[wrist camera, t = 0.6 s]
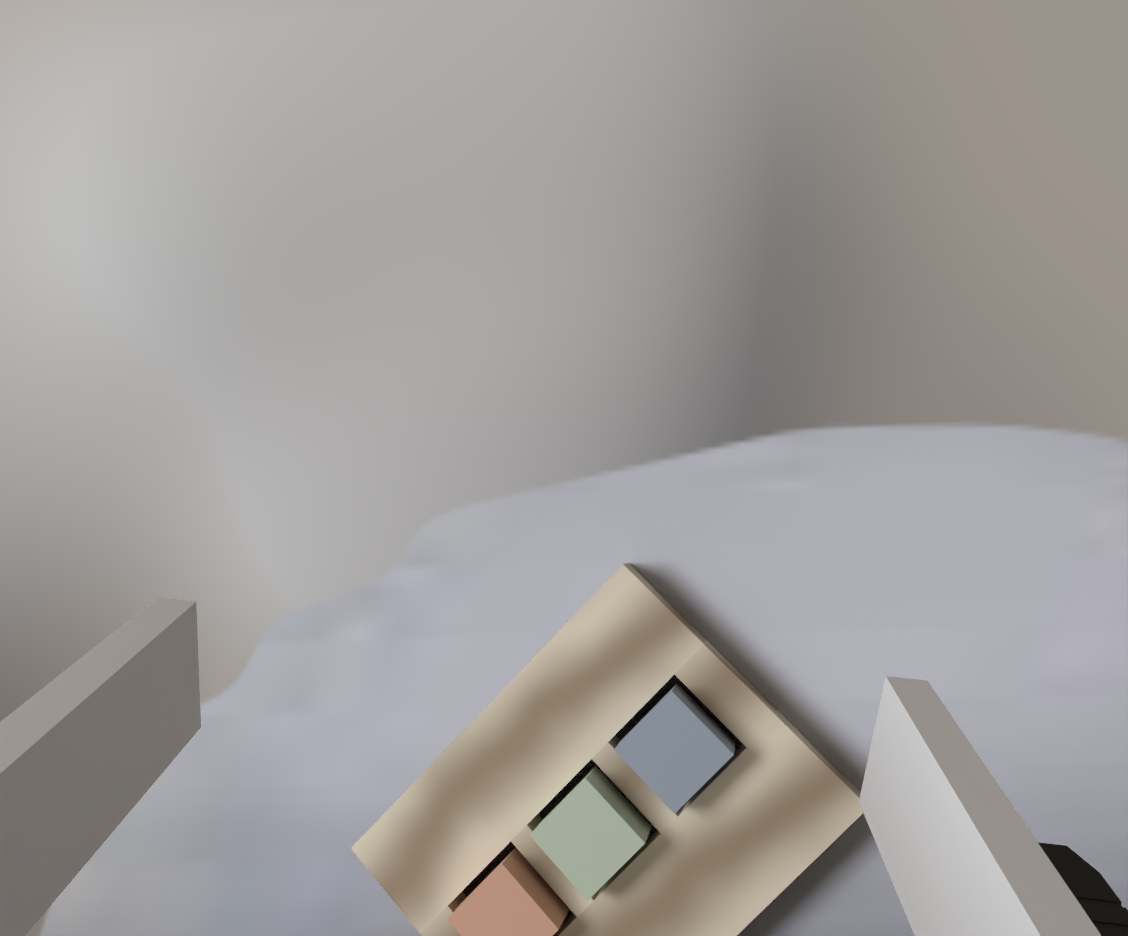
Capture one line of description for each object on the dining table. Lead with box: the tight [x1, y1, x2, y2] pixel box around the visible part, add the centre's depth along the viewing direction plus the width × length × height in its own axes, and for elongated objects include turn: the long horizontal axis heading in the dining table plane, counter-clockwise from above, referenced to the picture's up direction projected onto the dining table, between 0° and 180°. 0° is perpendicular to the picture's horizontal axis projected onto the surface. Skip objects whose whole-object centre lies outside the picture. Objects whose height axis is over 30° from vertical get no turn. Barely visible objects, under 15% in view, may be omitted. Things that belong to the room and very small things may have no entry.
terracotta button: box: [448, 847, 570, 936], centre depth 42 cm, size 4×4×2 cm
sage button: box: [530, 766, 652, 901], centre depth 42 cm, size 4×4×2 cm
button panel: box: [351, 563, 863, 936], centre depth 43 cm, size 16×21×2 cm
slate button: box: [614, 683, 736, 814], centre depth 41 cm, size 4×4×2 cm
